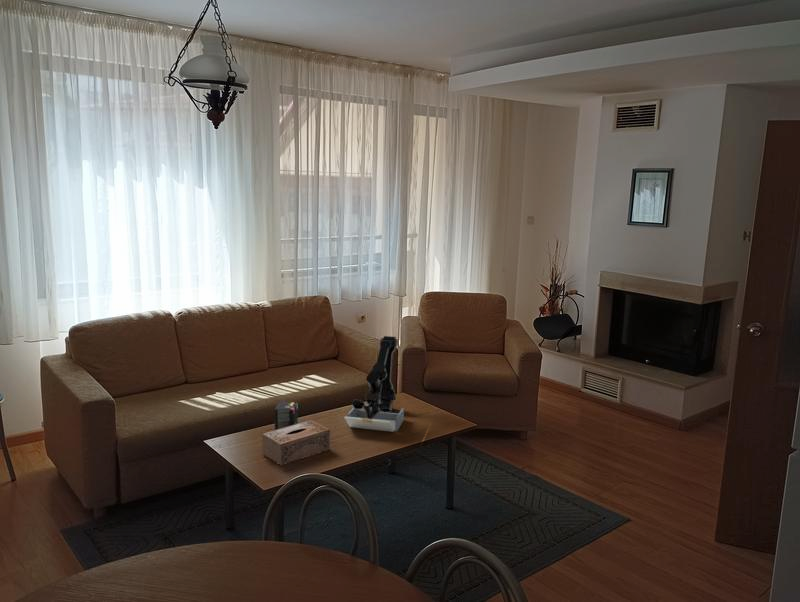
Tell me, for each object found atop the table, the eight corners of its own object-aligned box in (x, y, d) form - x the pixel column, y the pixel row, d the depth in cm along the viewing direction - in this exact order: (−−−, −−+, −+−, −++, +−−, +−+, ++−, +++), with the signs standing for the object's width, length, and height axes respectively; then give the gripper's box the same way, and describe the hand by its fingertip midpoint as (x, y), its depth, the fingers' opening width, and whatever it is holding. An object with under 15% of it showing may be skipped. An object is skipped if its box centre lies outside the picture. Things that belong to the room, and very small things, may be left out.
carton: (356, 416, 324) (356, 403, 322) (403, 421, 319) (403, 408, 317) (347, 427, 309) (347, 413, 308) (397, 432, 304) (397, 419, 303)
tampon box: (294, 439, 294) (293, 409, 291) (274, 438, 294) (274, 409, 291) (298, 430, 304) (298, 401, 302) (279, 429, 304) (279, 401, 302)
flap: (350, 426, 309) (344, 416, 298) (394, 430, 304) (389, 420, 293) (350, 427, 308) (344, 417, 298) (393, 432, 304) (389, 422, 293)
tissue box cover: (311, 440, 294) (311, 419, 292) (329, 450, 283) (329, 429, 282) (262, 455, 276) (262, 433, 275) (280, 466, 266) (280, 444, 264)
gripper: (353, 383, 303) (346, 414, 295) (390, 387, 299) (385, 418, 291) (357, 392, 312) (351, 422, 304) (394, 396, 308) (389, 426, 300)
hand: (369, 422), depth 300 cm, fingers closed
